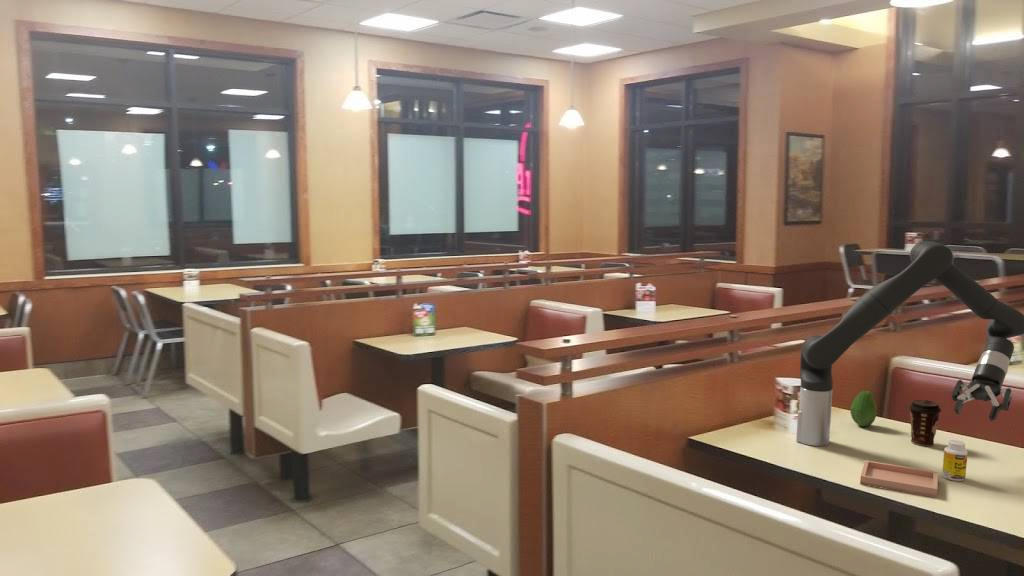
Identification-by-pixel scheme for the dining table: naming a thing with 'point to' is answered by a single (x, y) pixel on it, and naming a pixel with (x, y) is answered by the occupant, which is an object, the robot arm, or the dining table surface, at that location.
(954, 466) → the supplement bottle
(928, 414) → the coffee cup
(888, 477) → the tray
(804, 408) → the robot arm
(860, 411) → the avocado
